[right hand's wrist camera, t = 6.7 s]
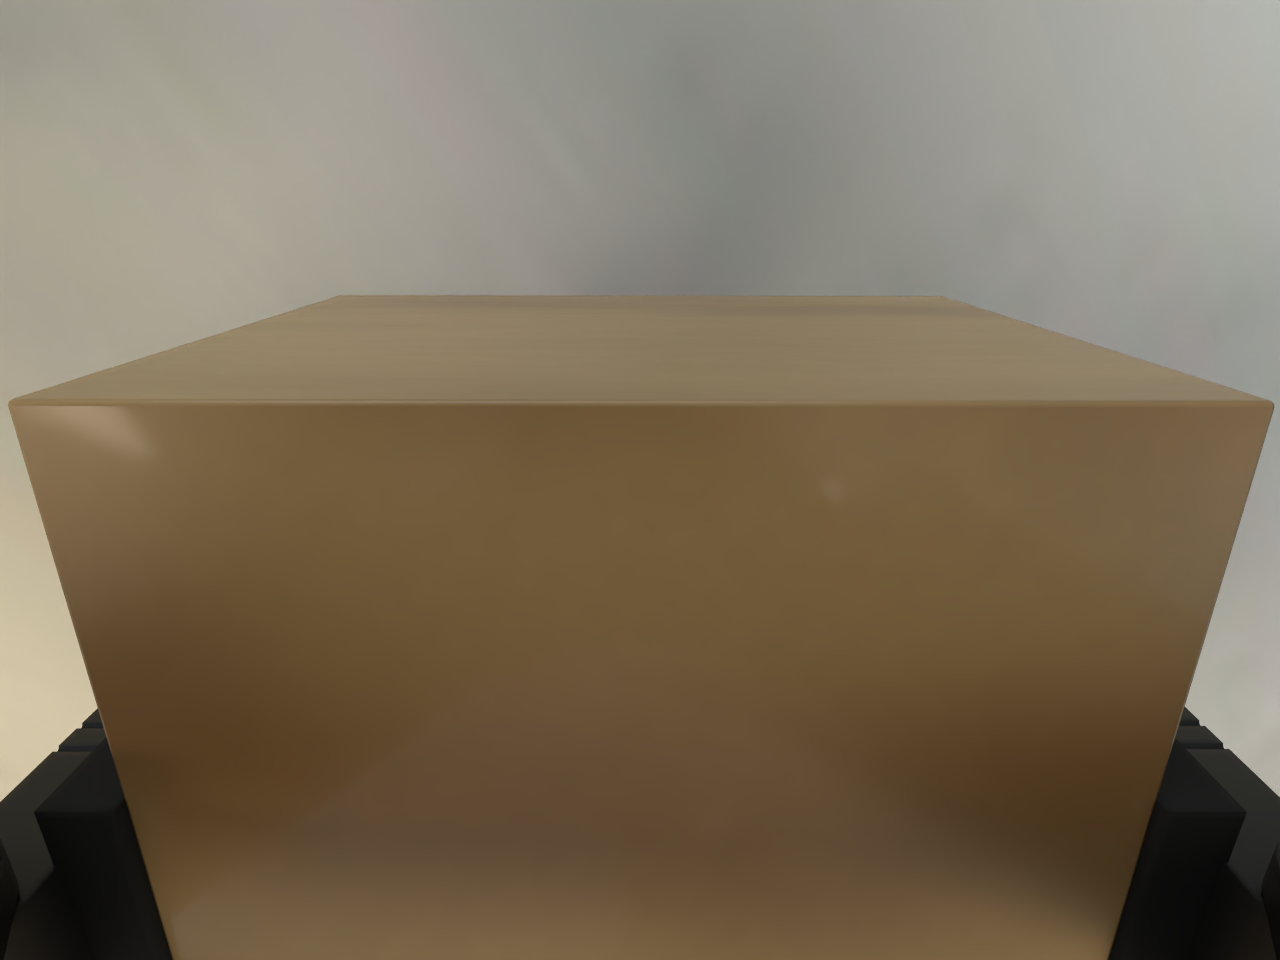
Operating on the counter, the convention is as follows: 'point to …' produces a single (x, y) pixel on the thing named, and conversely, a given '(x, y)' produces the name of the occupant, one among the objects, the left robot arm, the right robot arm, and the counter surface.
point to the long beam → (640, 623)
